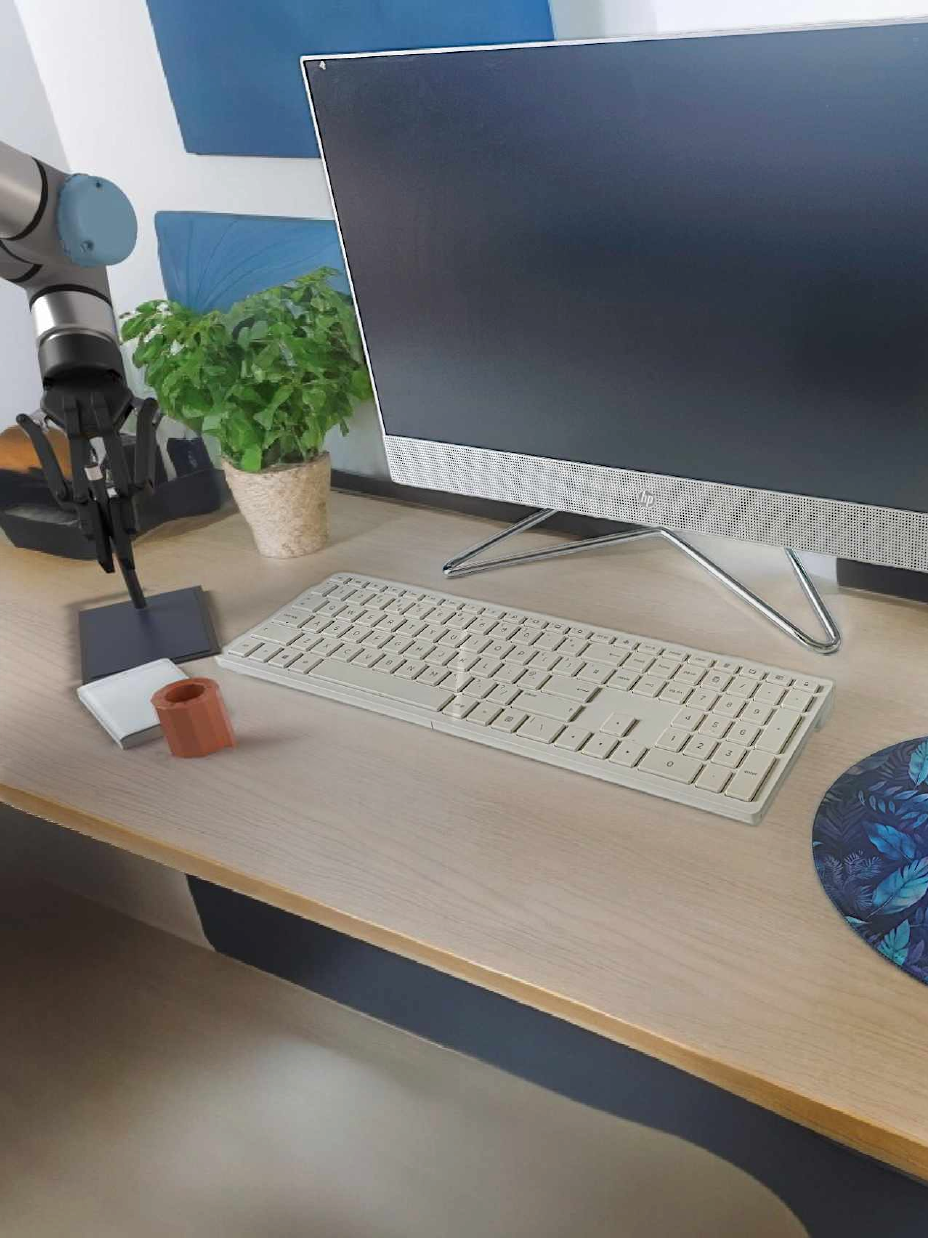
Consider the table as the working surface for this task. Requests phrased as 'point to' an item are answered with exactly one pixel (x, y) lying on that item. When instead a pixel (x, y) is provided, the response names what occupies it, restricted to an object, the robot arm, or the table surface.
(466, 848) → the table surface
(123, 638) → the tablet
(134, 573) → the stylus
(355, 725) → the table surface
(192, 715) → the pen holder
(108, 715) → the hard drive
